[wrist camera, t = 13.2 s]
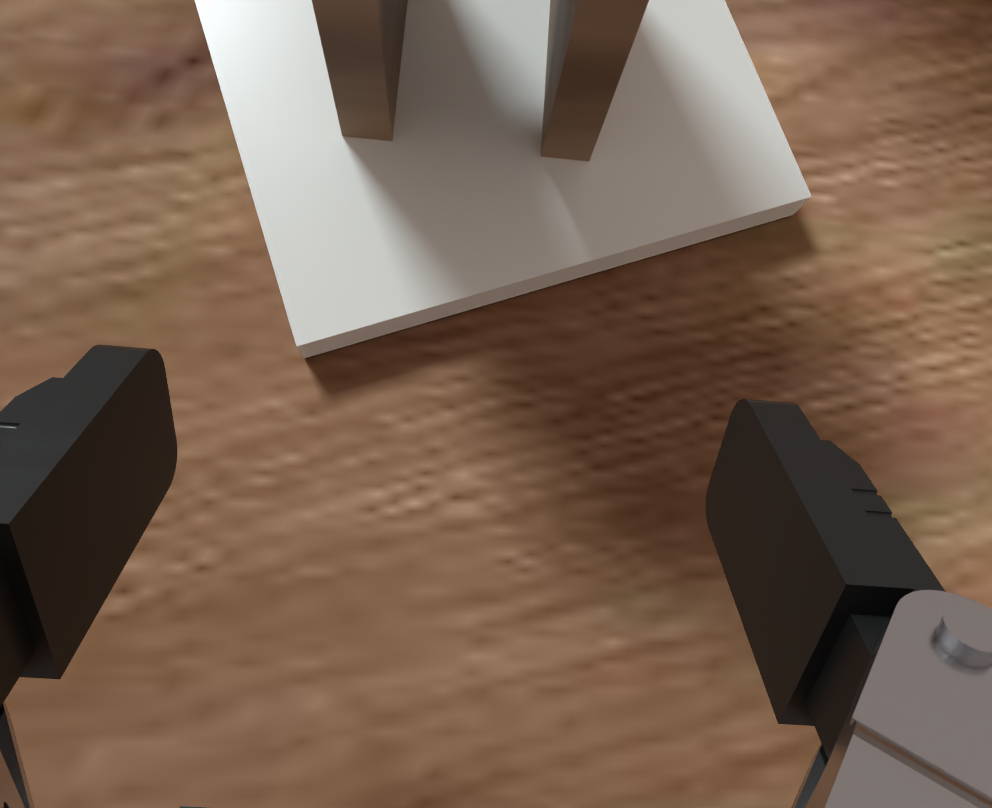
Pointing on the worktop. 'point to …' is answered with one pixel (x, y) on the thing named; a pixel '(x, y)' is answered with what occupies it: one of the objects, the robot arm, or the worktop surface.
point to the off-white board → (487, 159)
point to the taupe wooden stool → (568, 83)
